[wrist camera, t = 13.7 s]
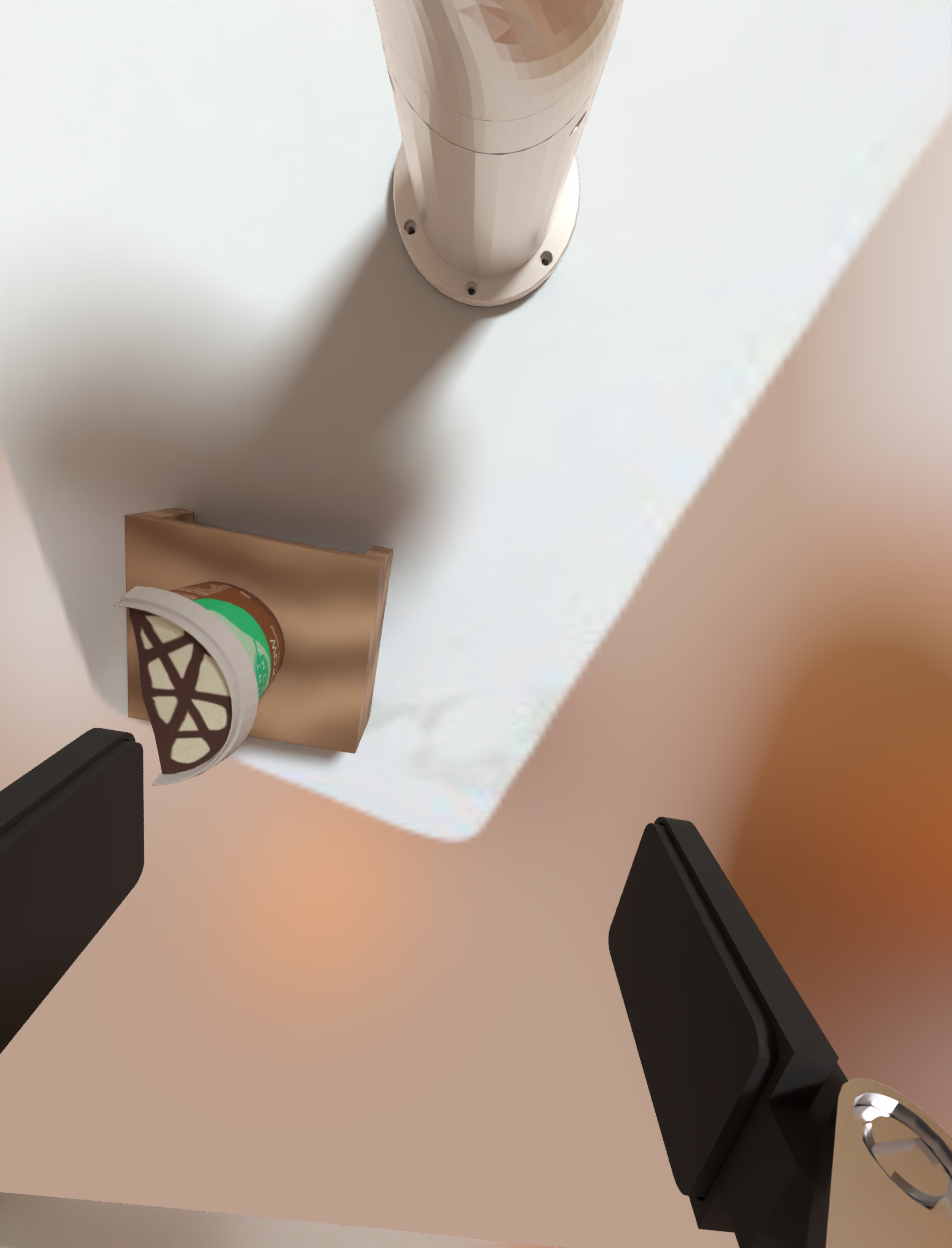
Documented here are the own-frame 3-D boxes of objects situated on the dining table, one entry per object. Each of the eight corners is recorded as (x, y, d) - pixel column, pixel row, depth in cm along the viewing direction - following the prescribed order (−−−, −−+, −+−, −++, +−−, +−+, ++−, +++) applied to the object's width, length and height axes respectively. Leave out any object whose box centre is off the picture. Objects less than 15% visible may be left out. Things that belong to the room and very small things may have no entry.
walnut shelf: (173, 508, 41) (124, 515, 35) (393, 549, 42) (380, 562, 36) (171, 685, 46) (128, 717, 40) (369, 718, 47) (355, 753, 41)
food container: (307, 715, 40) (255, 794, 30) (229, 714, 40) (153, 793, 30) (292, 561, 36) (228, 596, 27) (206, 560, 36) (111, 594, 27)
